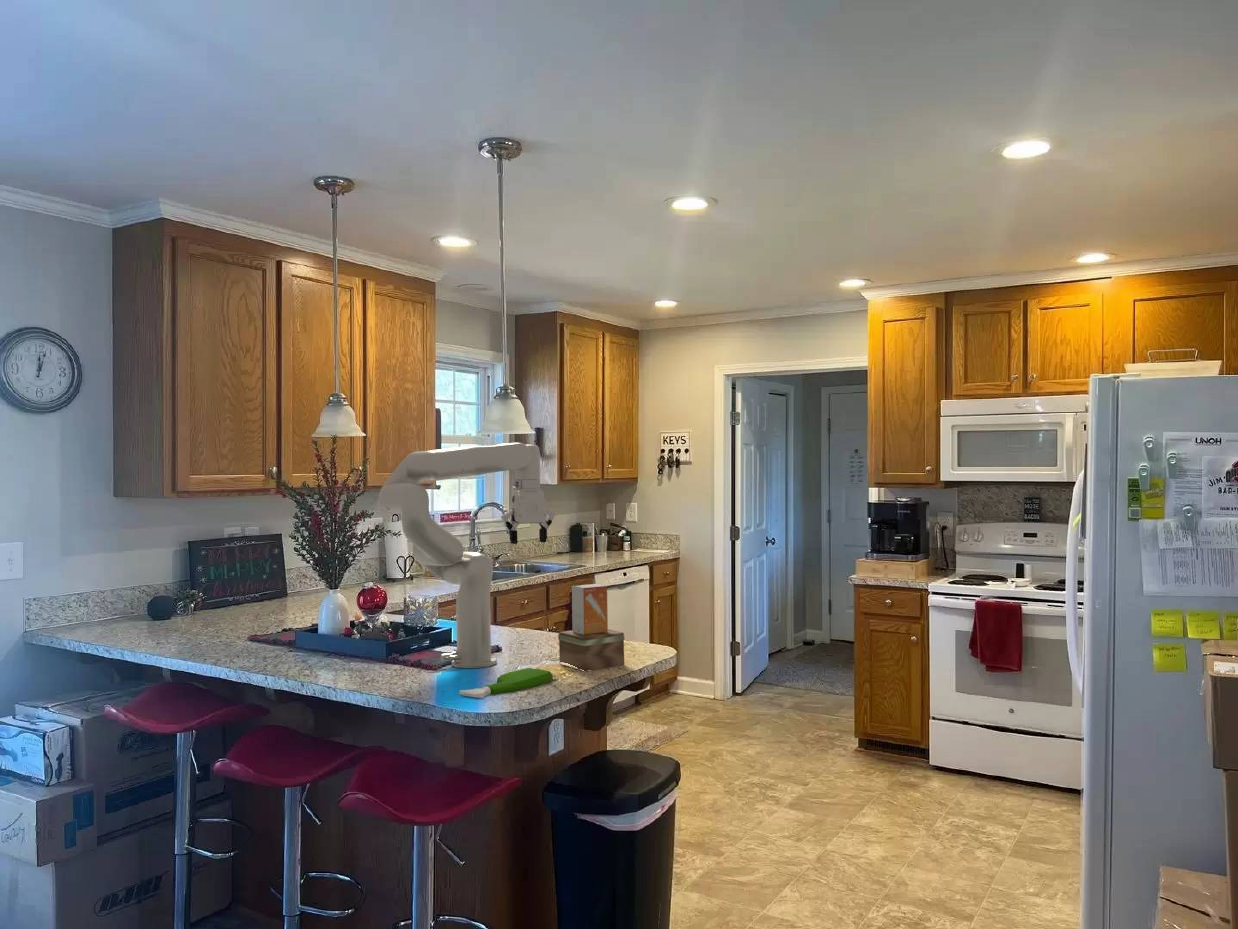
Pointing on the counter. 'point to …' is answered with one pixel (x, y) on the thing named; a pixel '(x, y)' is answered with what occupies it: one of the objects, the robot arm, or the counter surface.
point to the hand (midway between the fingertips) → (528, 542)
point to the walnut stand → (592, 649)
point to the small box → (589, 609)
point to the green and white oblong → (512, 682)
